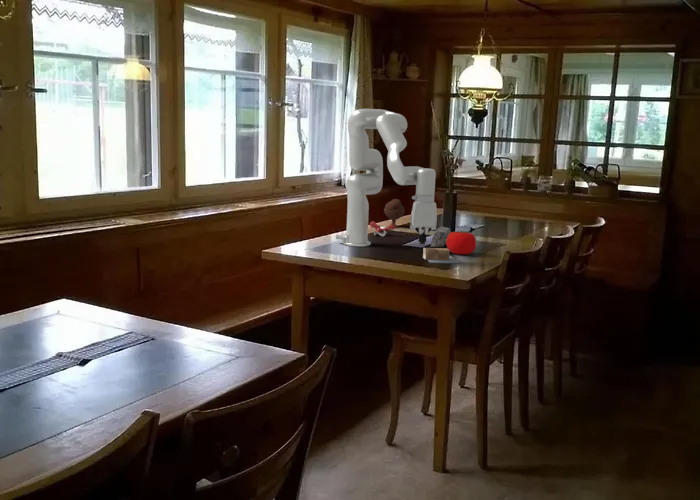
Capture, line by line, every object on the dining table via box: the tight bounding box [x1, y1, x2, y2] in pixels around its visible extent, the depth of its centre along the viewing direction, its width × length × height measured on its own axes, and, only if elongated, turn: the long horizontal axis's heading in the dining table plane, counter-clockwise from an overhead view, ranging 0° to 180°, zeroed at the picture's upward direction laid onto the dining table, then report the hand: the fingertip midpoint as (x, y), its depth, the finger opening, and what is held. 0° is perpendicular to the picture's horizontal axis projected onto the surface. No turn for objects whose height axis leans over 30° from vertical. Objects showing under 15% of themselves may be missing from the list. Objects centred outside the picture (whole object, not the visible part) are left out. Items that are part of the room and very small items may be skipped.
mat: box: [426, 254, 460, 264], centre depth 305 cm, size 12×14×1 cm
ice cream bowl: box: [383, 198, 406, 229], centre depth 380 cm, size 11×11×15 cm
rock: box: [430, 225, 451, 248], centre depth 335 cm, size 16×8×10 cm, turn 146°
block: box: [422, 247, 451, 261], centre depth 304 cm, size 4×4×10 cm
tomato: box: [445, 230, 477, 255], centre depth 318 cm, size 11×13×10 cm
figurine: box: [368, 220, 396, 237], centre depth 357 cm, size 15×12×7 cm
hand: (422, 243), depth 302 cm, fingers closed
